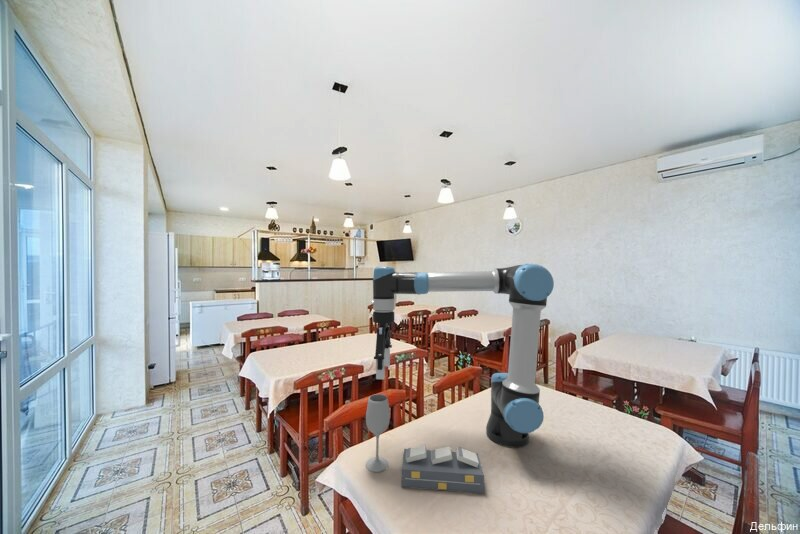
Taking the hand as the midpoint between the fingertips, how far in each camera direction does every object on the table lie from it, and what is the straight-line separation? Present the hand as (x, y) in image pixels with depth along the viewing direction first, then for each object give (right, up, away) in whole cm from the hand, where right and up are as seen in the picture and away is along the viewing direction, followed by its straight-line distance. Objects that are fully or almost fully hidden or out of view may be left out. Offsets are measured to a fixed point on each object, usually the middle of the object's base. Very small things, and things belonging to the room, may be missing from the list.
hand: (383, 372), depth 103 cm
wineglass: (-1, -26, -9) cm, 28 cm away
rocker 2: (+18, -20, -15) cm, 30 cm away
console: (+18, -26, -15) cm, 35 cm away
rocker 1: (+11, -20, -14) cm, 26 cm away
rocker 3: (+26, -20, -15) cm, 36 cm away
